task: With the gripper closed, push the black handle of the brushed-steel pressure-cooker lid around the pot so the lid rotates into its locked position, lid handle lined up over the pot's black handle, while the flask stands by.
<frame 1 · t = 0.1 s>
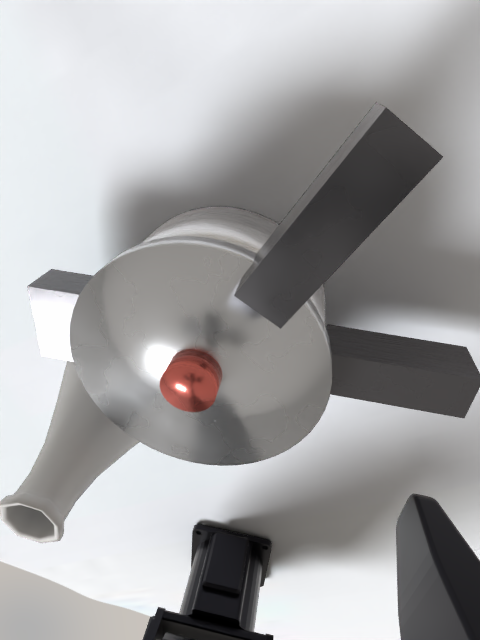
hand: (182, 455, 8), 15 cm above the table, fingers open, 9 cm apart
pot: (225, 304, 23), on the table
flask: (119, 387, 29), on the table
lid: (233, 329, 16), point 7 cm above the table, hinge at 60.0°
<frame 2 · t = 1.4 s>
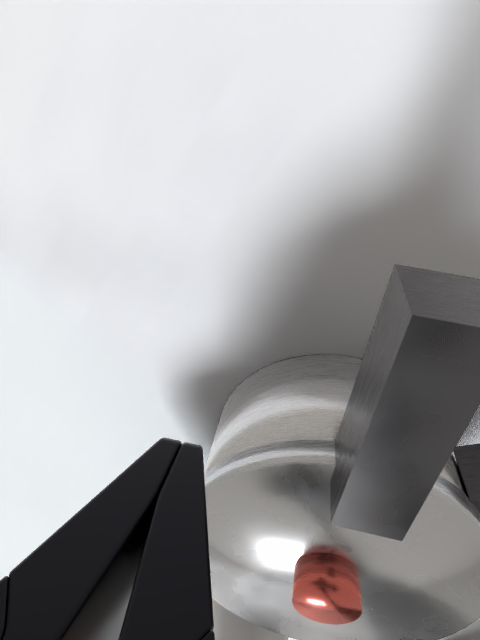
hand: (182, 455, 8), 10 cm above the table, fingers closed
pot: (326, 444, 21), on the table
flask: (258, 545, 27), on the table
lid: (347, 530, 14), point 7 cm above the table, hinge at 60.0°
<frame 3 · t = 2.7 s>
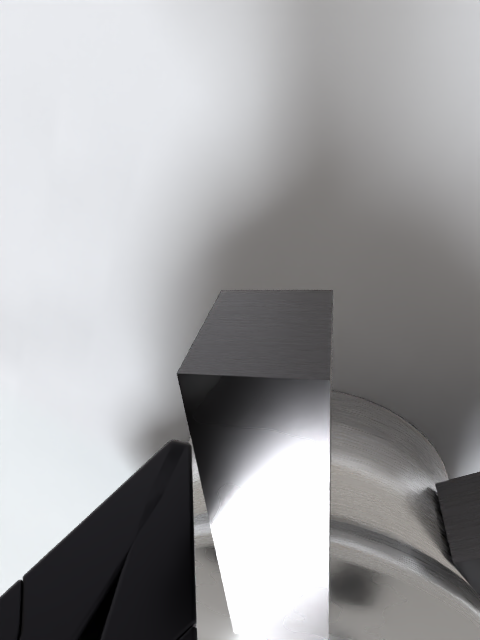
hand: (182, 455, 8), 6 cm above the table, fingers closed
pot: (308, 488, 18), on the table
lid: (289, 621, 11), point 7 cm above the table, hinge at 59.0°, touching gripper
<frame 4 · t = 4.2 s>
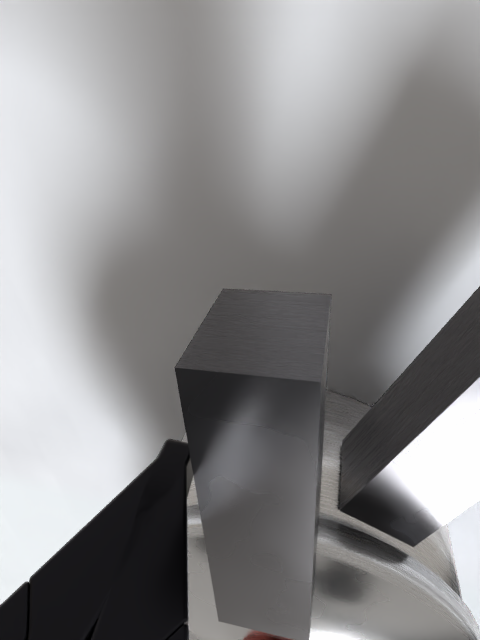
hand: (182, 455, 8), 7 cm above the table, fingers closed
pot: (300, 486, 18), on the table
lid: (274, 614, 11), point 7 cm above the table, hinge at 26.8°, touching gripper
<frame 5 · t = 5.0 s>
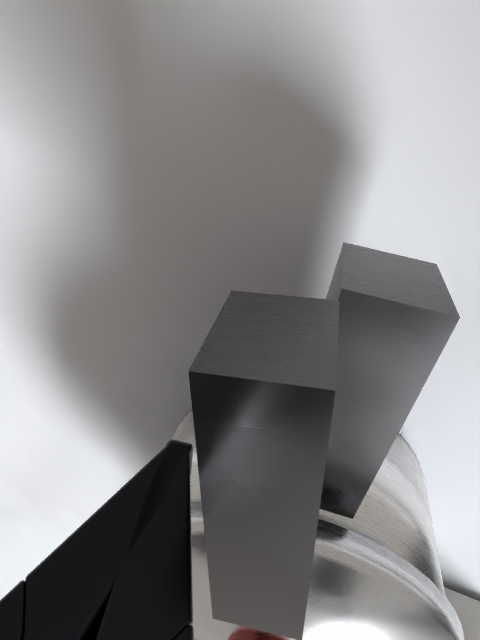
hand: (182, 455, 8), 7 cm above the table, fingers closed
pot: (289, 484, 18), on the table
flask: (411, 608, 21), on the table
lid: (264, 611, 11), point 7 cm above the table, hinge at 10.1°, touching gripper
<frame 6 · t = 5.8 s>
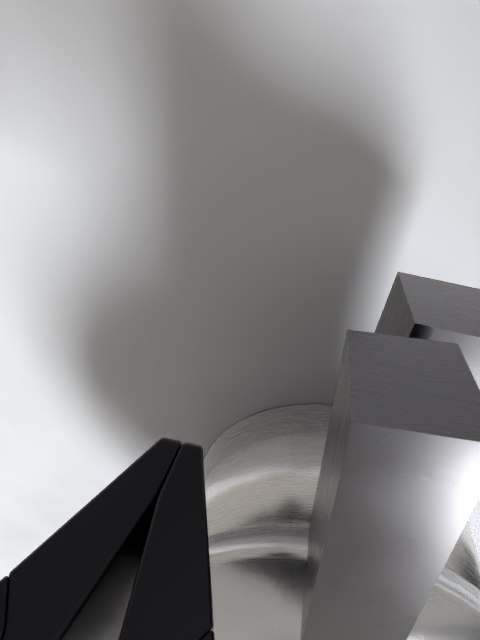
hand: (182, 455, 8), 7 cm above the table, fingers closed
pot: (322, 499, 18), on the table
lid: (332, 635, 11), point 7 cm above the table, hinge at 6.7°
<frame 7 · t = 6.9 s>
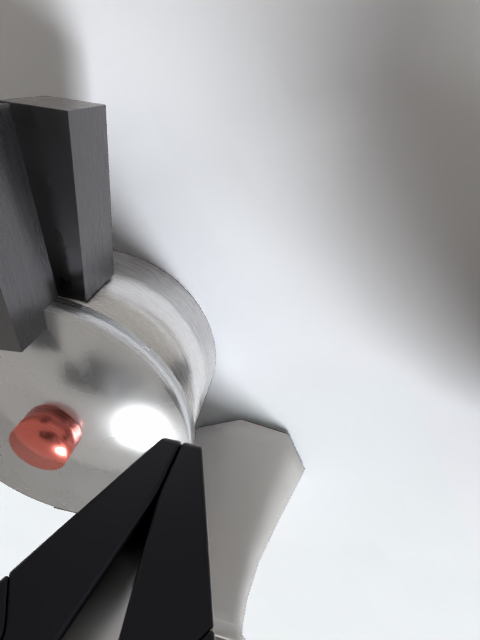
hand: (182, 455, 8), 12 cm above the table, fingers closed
pot: (117, 343, 23), on the table
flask: (246, 457, 26), on the table
lid: (31, 372, 16), point 7 cm above the table, hinge at 6.7°
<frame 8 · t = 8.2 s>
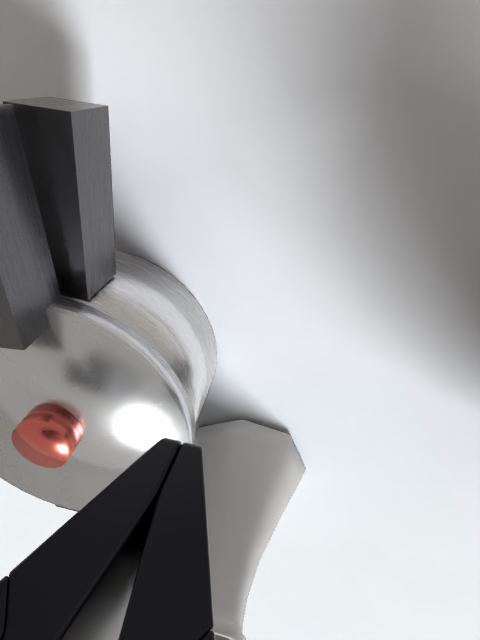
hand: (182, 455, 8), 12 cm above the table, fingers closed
pot: (119, 343, 23), on the table
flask: (247, 457, 26), on the table
lid: (34, 370, 16), point 7 cm above the table, hinge at 6.7°
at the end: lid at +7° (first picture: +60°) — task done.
